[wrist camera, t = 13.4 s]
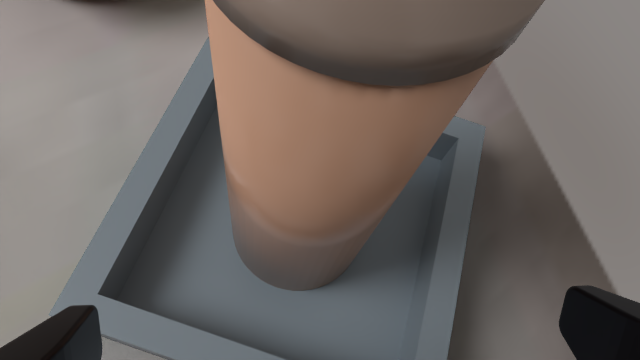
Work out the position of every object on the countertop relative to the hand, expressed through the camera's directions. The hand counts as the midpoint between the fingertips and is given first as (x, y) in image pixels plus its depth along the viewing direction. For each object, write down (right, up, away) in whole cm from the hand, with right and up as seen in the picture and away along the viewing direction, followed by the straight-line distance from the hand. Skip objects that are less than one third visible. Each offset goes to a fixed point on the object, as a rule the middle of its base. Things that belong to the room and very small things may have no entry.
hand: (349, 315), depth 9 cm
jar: (-1, +1, +9) cm, 9 cm away
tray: (-2, +1, +10) cm, 10 cm away
